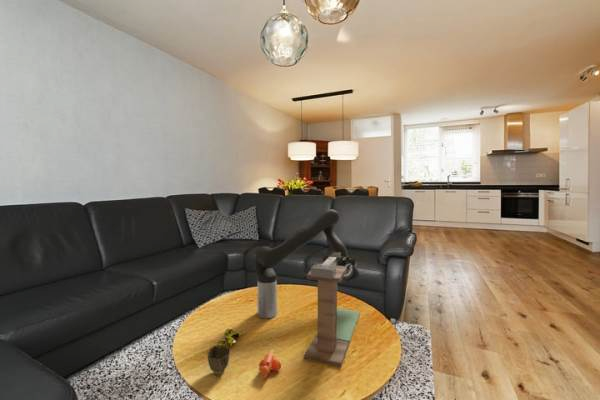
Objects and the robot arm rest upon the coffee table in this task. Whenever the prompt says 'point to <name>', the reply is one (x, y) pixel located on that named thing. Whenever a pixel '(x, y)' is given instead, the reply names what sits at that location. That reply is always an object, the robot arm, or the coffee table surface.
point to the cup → (218, 359)
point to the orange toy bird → (269, 364)
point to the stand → (327, 323)
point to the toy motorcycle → (229, 337)
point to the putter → (327, 267)
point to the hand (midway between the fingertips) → (336, 257)
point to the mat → (346, 324)
